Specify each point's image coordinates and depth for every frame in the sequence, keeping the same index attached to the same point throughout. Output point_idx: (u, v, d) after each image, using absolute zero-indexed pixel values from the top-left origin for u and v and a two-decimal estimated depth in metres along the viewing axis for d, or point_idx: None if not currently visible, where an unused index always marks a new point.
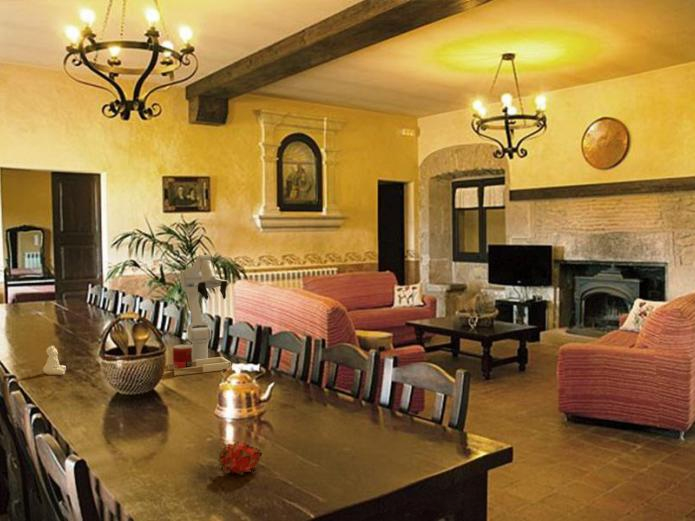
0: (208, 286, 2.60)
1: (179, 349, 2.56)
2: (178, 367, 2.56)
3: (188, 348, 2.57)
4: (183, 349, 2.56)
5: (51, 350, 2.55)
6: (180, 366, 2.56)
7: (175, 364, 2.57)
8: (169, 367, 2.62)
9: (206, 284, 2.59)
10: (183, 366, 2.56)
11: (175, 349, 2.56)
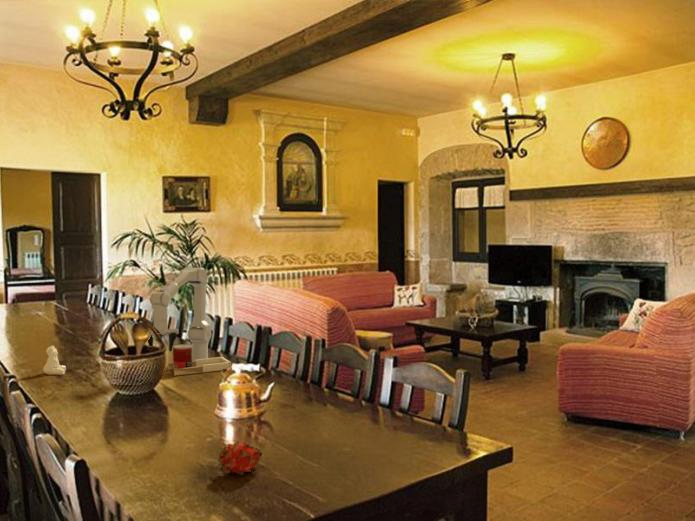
0: None
1: (179, 349, 2.56)
2: (178, 367, 2.56)
3: (188, 348, 2.57)
4: (183, 349, 2.56)
5: (51, 350, 2.55)
6: (180, 366, 2.56)
7: (175, 364, 2.57)
8: (169, 367, 2.62)
9: None
10: (183, 366, 2.56)
11: (175, 349, 2.56)
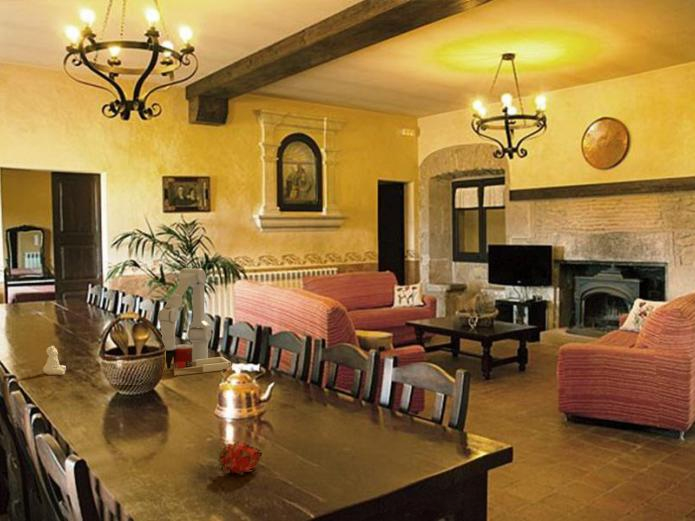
0: None
1: (180, 349, 2.56)
2: (178, 367, 2.56)
3: (189, 348, 2.57)
4: (184, 349, 2.56)
5: (51, 350, 2.55)
6: (180, 366, 2.56)
7: (175, 364, 2.57)
8: None
9: None
10: (183, 366, 2.56)
11: (176, 349, 2.56)
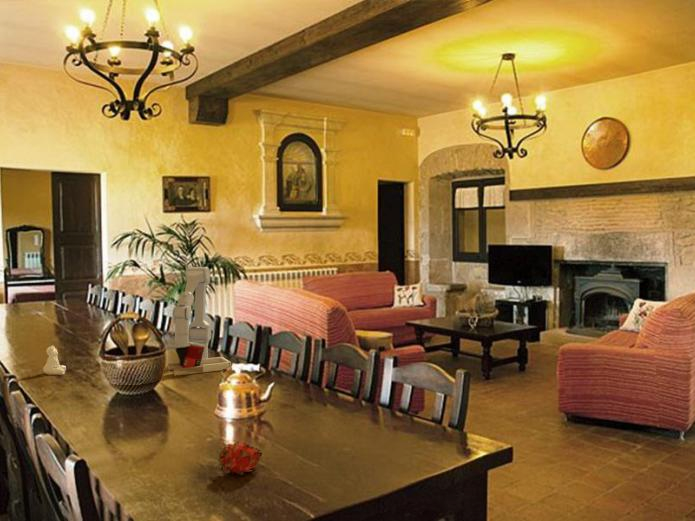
0: None
1: (193, 345, 2.58)
2: (187, 363, 2.57)
3: (201, 346, 2.60)
4: (197, 346, 2.58)
5: (51, 350, 2.55)
6: (190, 362, 2.57)
7: (185, 359, 2.58)
8: (169, 367, 2.62)
9: None
10: (192, 363, 2.58)
11: None
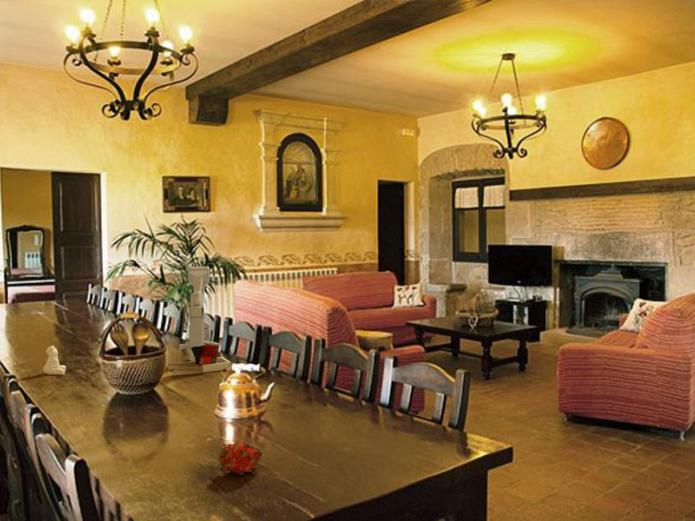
0: None
1: (208, 344, 2.61)
2: (203, 362, 2.61)
3: (216, 345, 2.63)
4: (212, 345, 2.61)
5: (51, 350, 2.55)
6: (205, 361, 2.61)
7: (201, 358, 2.61)
8: (169, 367, 2.62)
9: None
10: (208, 361, 2.61)
11: None
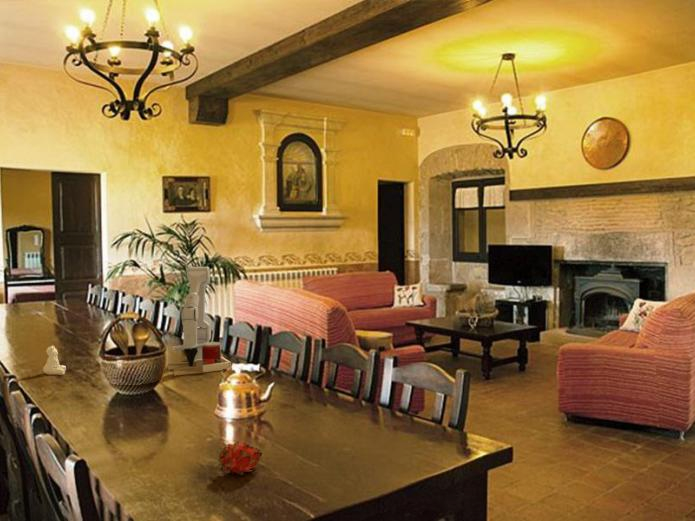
0: None
1: (209, 346, 2.61)
2: None
3: (217, 345, 2.63)
4: (212, 346, 2.62)
5: (51, 350, 2.55)
6: (209, 363, 2.62)
7: (204, 361, 2.62)
8: (169, 367, 2.62)
9: None
10: (212, 363, 2.62)
11: (204, 346, 2.62)
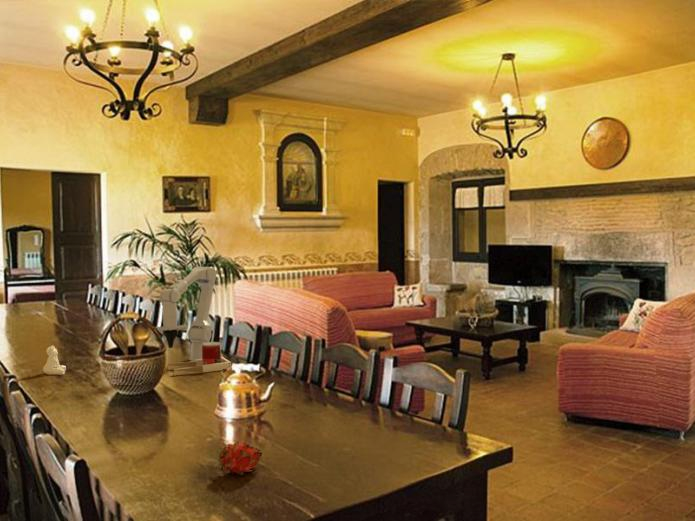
0: None
1: (209, 346, 2.61)
2: None
3: (217, 345, 2.63)
4: (212, 346, 2.62)
5: (51, 350, 2.55)
6: (209, 363, 2.62)
7: (204, 361, 2.62)
8: (169, 367, 2.62)
9: None
10: (212, 363, 2.62)
11: (204, 346, 2.62)
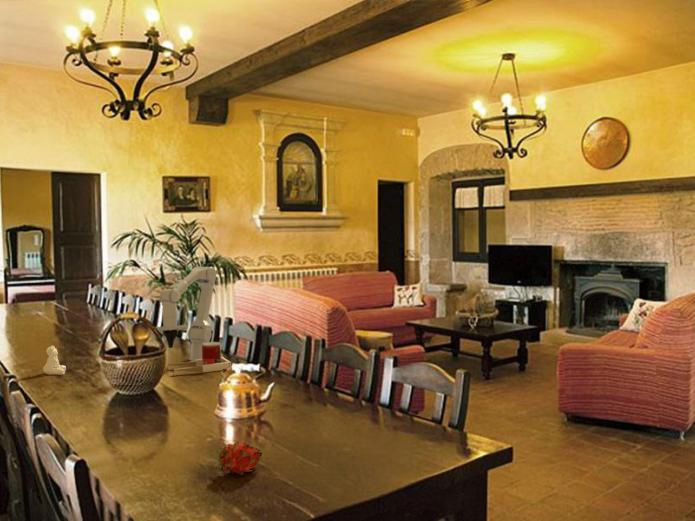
0: None
1: (209, 346, 2.61)
2: None
3: (217, 345, 2.63)
4: (212, 346, 2.62)
5: (51, 350, 2.55)
6: (209, 363, 2.62)
7: (204, 361, 2.62)
8: (169, 367, 2.62)
9: None
10: (212, 363, 2.62)
11: (204, 346, 2.62)
